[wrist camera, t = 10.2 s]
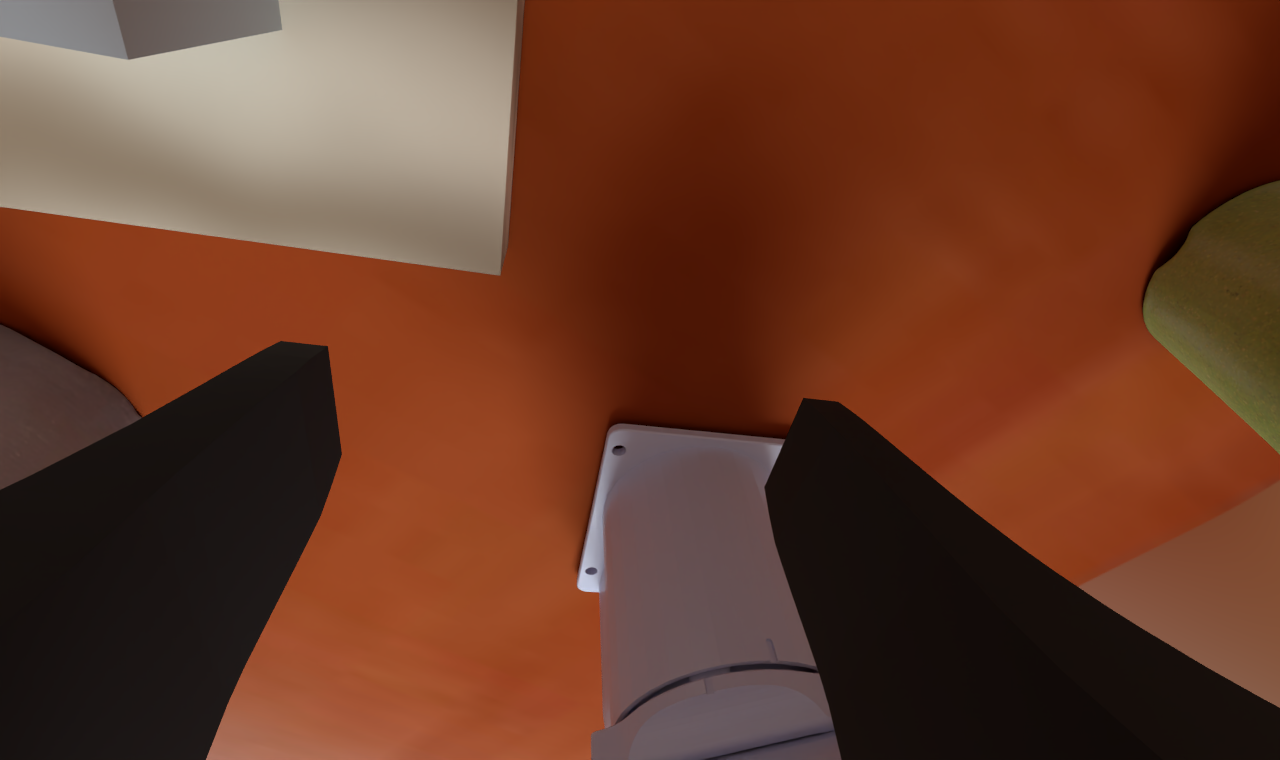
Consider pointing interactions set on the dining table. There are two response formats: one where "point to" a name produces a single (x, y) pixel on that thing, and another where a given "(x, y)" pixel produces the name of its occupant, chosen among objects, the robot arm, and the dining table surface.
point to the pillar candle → (50, 407)
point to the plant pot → (1227, 306)
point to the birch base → (285, 132)
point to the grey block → (135, 23)
